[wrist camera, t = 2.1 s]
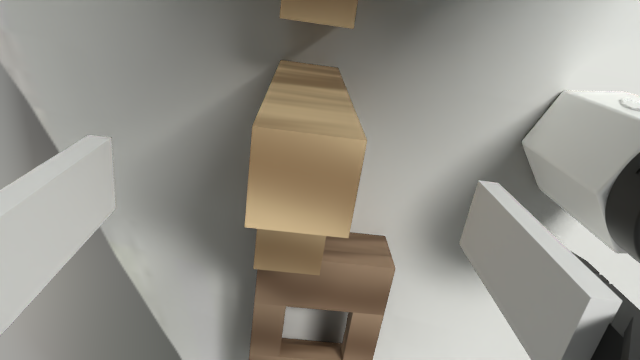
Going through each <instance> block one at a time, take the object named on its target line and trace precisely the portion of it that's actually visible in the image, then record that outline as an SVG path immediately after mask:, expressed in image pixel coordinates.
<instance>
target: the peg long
mask: <svg viewBox="0 0 640 360" xmlns="http://www.w3.org/2000/svg"><path fill="white" fill-rule="evenodd" d="M366 144H367V139H366V137H365V134H364V132H363V129H362V127H361V124H360V122H359V119H358V117H357V114H356V112H355V109H354V107H353V104H352V102H351V99H350V97H349V94H348V92H347V89H346V87H345V84H344V82H343V79H342V77H341V74H340V72H339V69H338V68H336V67H329V66H321V65H314V64H307V63H300V62H292V61H285V60H280V63H279V65H278V67H277V70H276V72H275V74H274V77H273V79H272V81H271V84H270V86H269V88H268V91H267V93H266V95H265V98H264V100H263V102H262V105H261V107H260V109H259V112H258V114H257V116H256V119H255V121H254V123H253V126H252V135H251V149H250V162H249V175H248V188H247V202H246V215H245V227H246V228H256V229H265V230H275V231H284V232H294V233H303V234H312V235H322V236H331V237H341V238H349V233H350V227H351V222H352V217H353V212H354V207H355V201H356V196H357V191H358V186H359V180H360V175H361V170H362V165H363V160H364V154H365V149H366Z"/></svg>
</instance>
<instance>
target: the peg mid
mask: <svg viewBox="0 0 640 360" xmlns="http://www.w3.org/2000/svg"><path fill="white" fill-rule="evenodd" d="M325 240H326V236H322V235H312V234H303V233H294V232H284V231H275V230H265V229H257V234H256V245H255V256H254V267H253V269H259V270H269V271H280V272H290V273H300V274H310V275H320V270H321V264H322V258H323V252H324V246H325Z"/></svg>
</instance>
